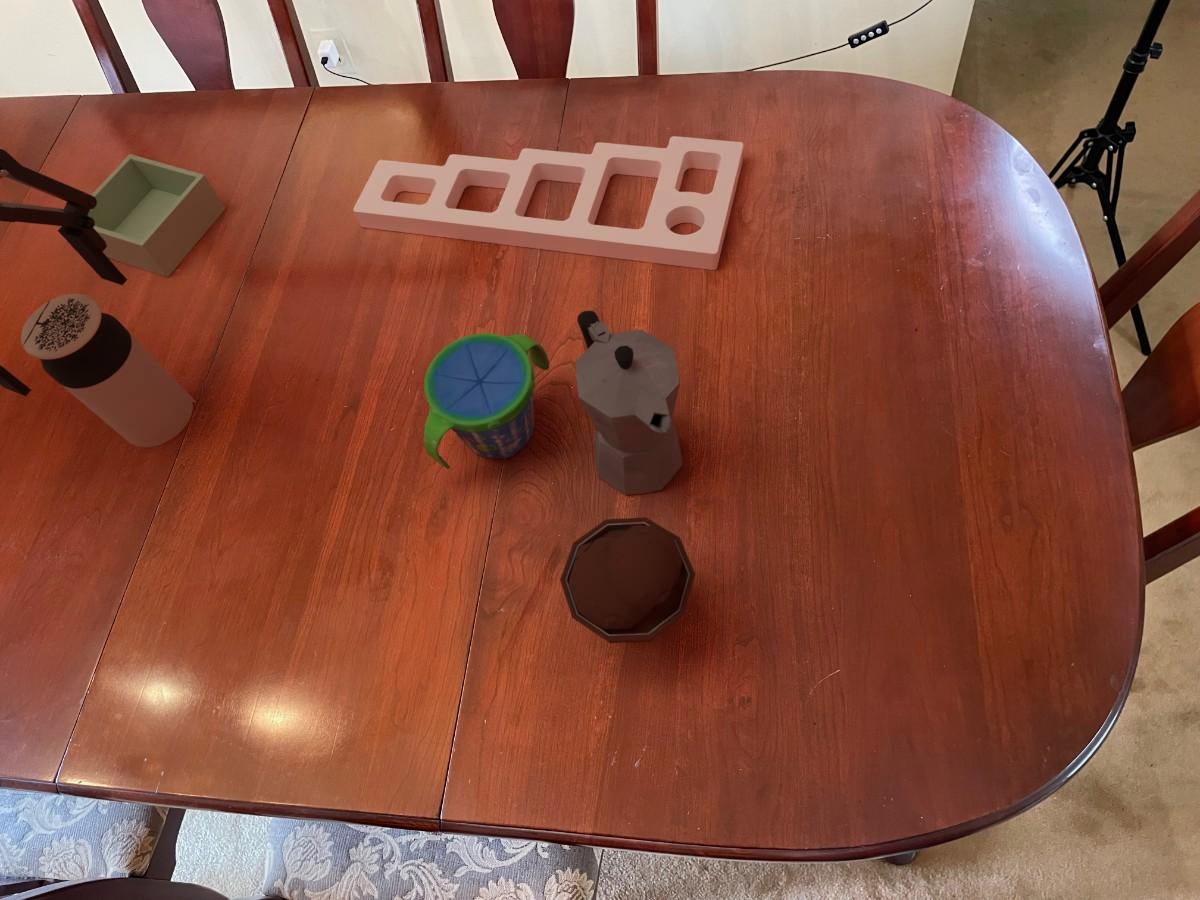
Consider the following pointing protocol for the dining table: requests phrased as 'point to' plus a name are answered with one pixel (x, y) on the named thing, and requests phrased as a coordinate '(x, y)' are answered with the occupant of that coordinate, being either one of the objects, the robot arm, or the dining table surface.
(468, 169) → the holder
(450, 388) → the snack cup
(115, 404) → the travel mug
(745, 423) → the dining table surface
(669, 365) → the coffeepot
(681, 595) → the plant pot with soil
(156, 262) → the bin
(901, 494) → the dining table surface
